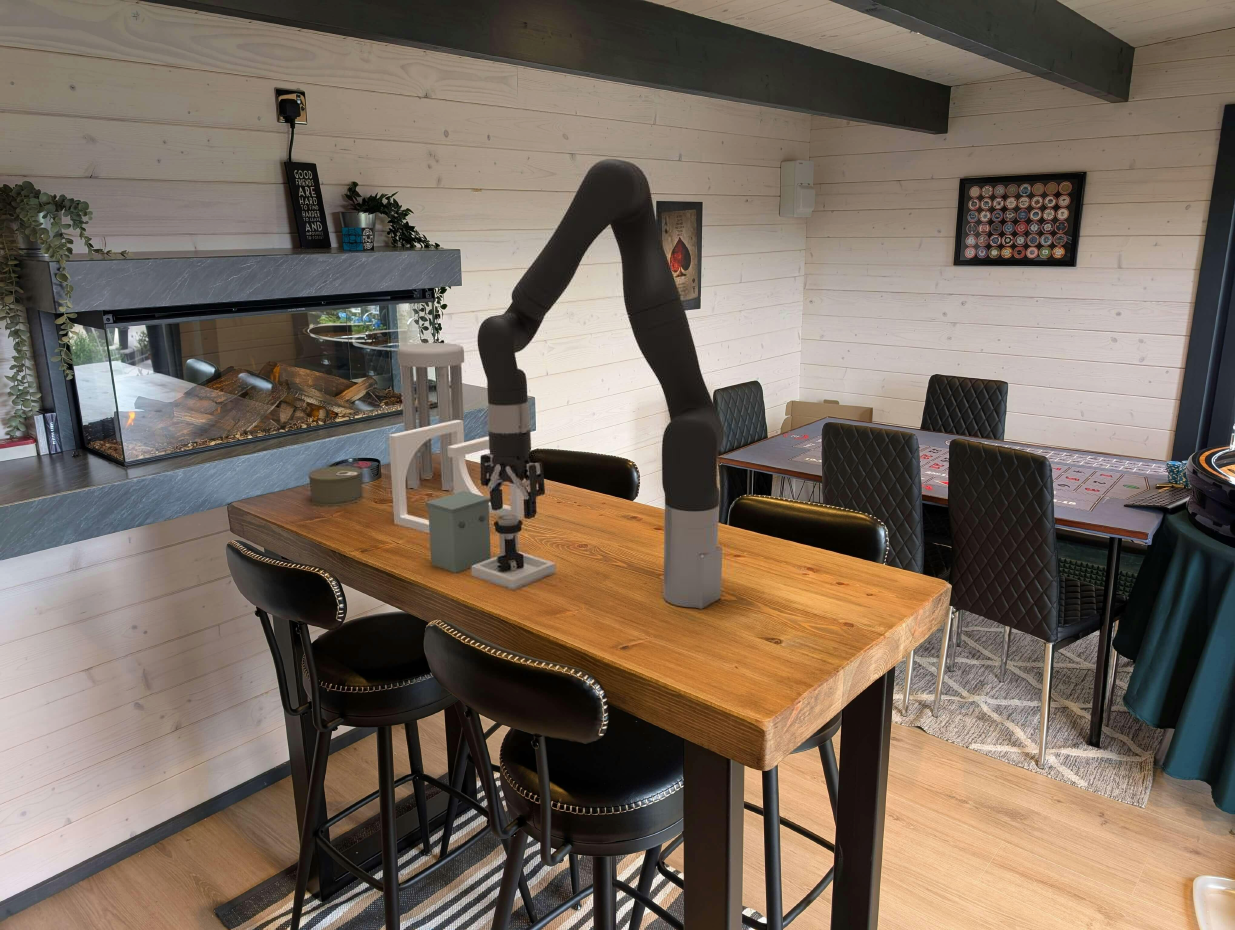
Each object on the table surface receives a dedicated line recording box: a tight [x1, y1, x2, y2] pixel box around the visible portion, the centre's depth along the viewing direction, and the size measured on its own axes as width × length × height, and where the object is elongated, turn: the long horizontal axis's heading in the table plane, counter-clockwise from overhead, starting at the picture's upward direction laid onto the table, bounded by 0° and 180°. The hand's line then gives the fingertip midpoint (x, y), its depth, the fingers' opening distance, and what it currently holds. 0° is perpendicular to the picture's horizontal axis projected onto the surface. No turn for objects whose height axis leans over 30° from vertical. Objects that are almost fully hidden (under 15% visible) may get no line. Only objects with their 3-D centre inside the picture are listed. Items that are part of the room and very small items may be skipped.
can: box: [308, 465, 363, 508], centre depth 210 cm, size 12×12×7 cm
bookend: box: [388, 420, 525, 535], centre depth 193 cm, size 20×20×20 cm
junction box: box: [425, 491, 492, 574], centre depth 169 cm, size 8×10×13 cm
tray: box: [471, 551, 557, 591], centre depth 164 cm, size 11×11×2 cm
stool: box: [396, 342, 467, 492], centre depth 220 cm, size 16×16×35 cm
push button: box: [491, 515, 524, 572], centre depth 165 cm, size 7×5×10 cm
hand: (513, 513), depth 162 cm, fingers open, 8 cm apart
